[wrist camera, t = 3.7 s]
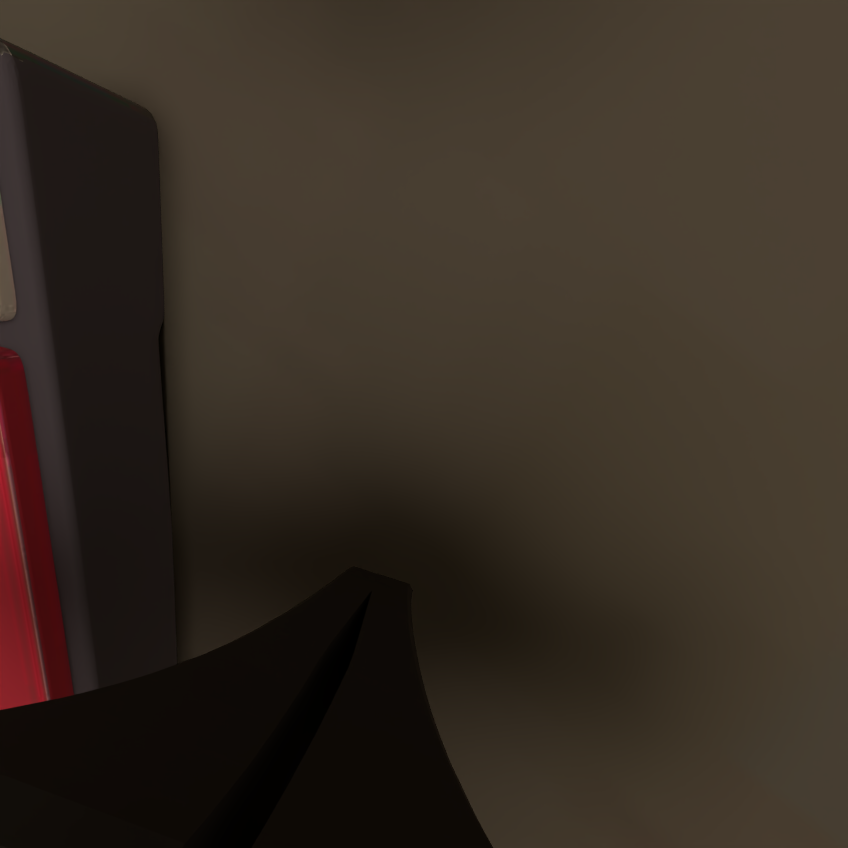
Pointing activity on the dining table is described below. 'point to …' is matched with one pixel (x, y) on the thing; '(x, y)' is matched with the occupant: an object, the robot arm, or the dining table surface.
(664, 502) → the dining table surface
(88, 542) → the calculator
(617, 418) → the dining table surface
